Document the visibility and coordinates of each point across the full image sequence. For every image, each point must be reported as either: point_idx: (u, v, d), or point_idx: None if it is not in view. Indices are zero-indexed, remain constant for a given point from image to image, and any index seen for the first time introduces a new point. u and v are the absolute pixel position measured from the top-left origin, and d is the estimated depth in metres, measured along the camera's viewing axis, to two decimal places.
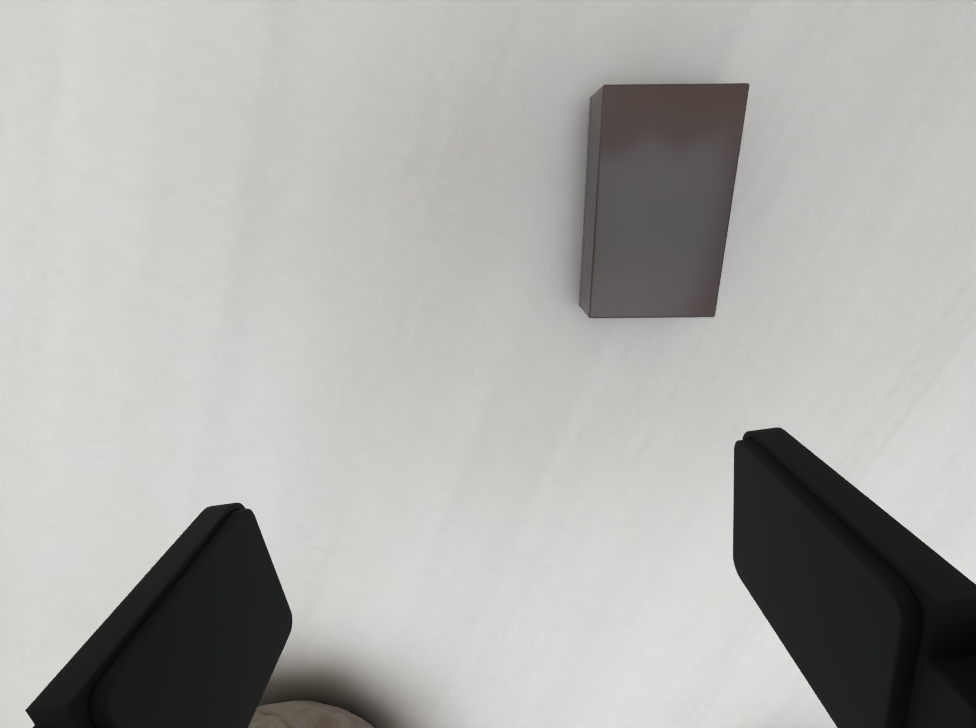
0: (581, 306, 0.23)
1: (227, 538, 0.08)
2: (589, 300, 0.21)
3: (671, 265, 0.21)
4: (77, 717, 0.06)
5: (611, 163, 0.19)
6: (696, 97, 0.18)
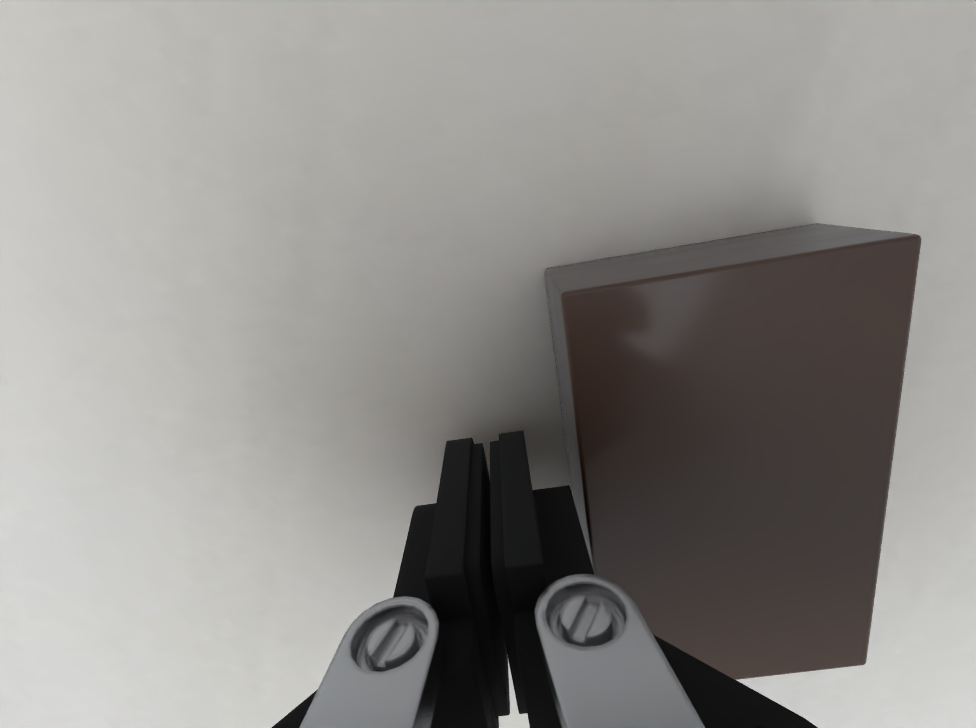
0: None
1: (482, 464, 0.09)
2: None
3: (765, 597, 0.10)
4: (463, 585, 0.06)
5: (607, 441, 0.09)
6: (791, 285, 0.08)
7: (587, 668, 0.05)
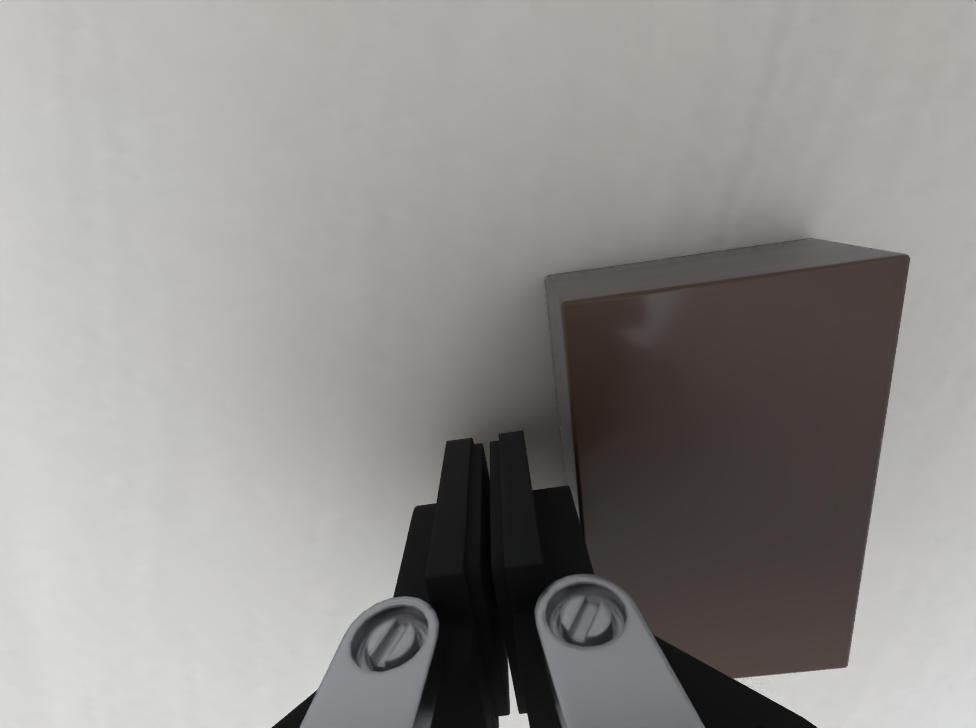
0: None
1: (482, 464, 0.09)
2: None
3: (751, 600, 0.10)
4: (463, 585, 0.06)
5: (602, 447, 0.09)
6: (783, 301, 0.08)
7: (587, 668, 0.05)
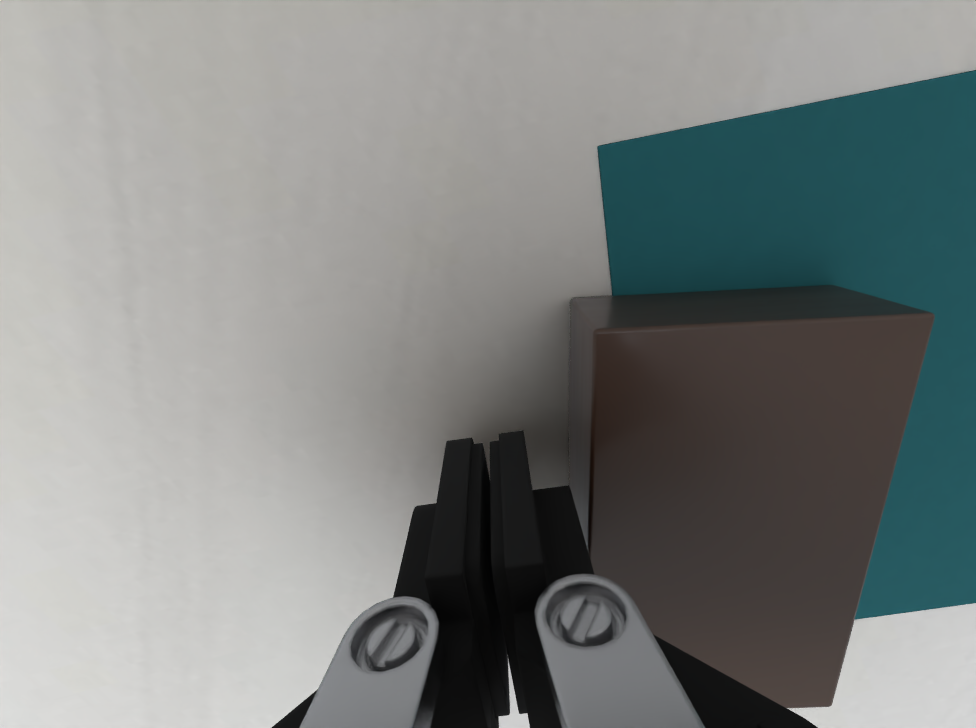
0: None
1: (482, 464, 0.09)
2: None
3: (746, 635, 0.10)
4: (463, 585, 0.06)
5: (618, 474, 0.09)
6: (811, 347, 0.08)
7: (587, 668, 0.05)
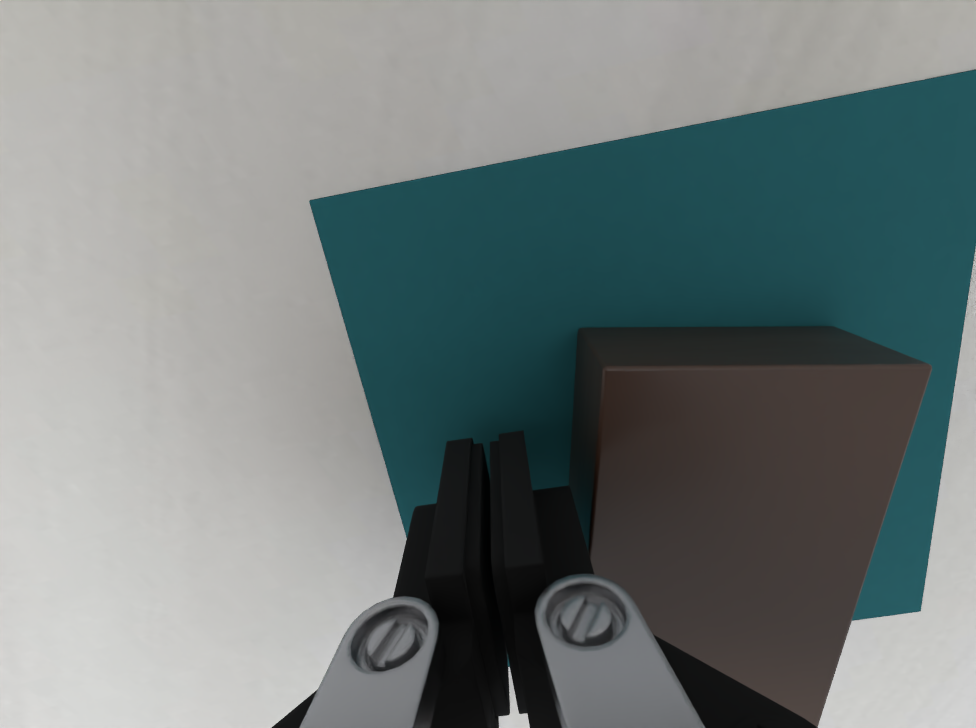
0: None
1: (482, 464, 0.09)
2: None
3: (736, 665, 0.10)
4: (463, 585, 0.06)
5: (620, 506, 0.09)
6: (812, 392, 0.08)
7: (587, 668, 0.05)
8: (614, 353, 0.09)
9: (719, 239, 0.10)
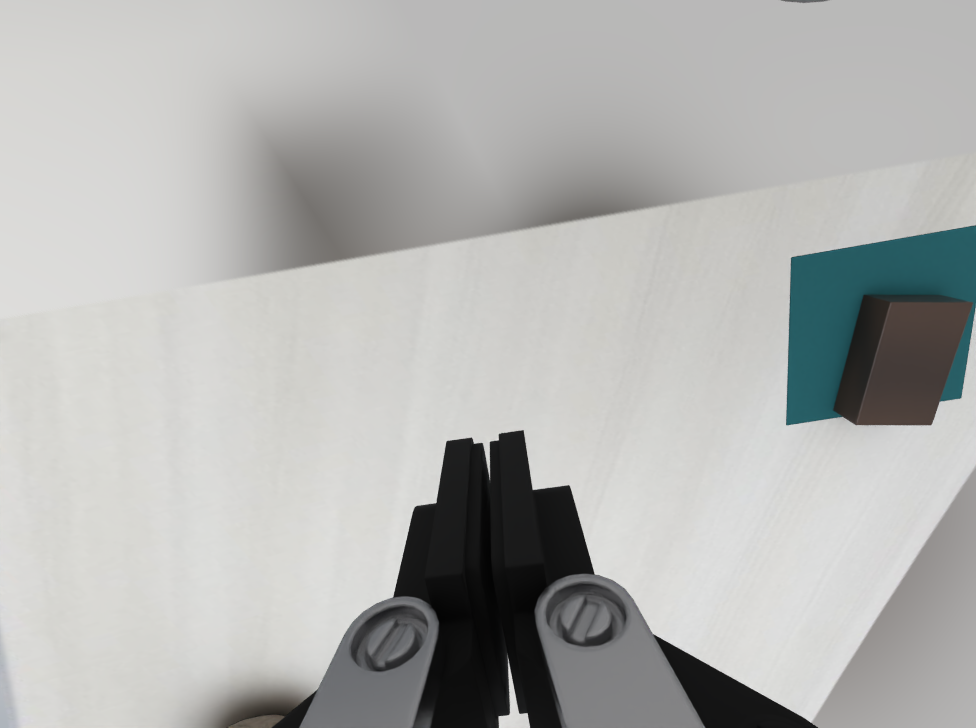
0: (838, 412, 0.37)
1: (482, 464, 0.09)
2: (856, 414, 0.35)
3: (911, 396, 0.34)
4: (463, 585, 0.06)
5: (887, 342, 0.33)
6: (942, 309, 0.32)
7: (587, 668, 0.05)
8: (888, 299, 0.33)
9: (907, 269, 0.34)
